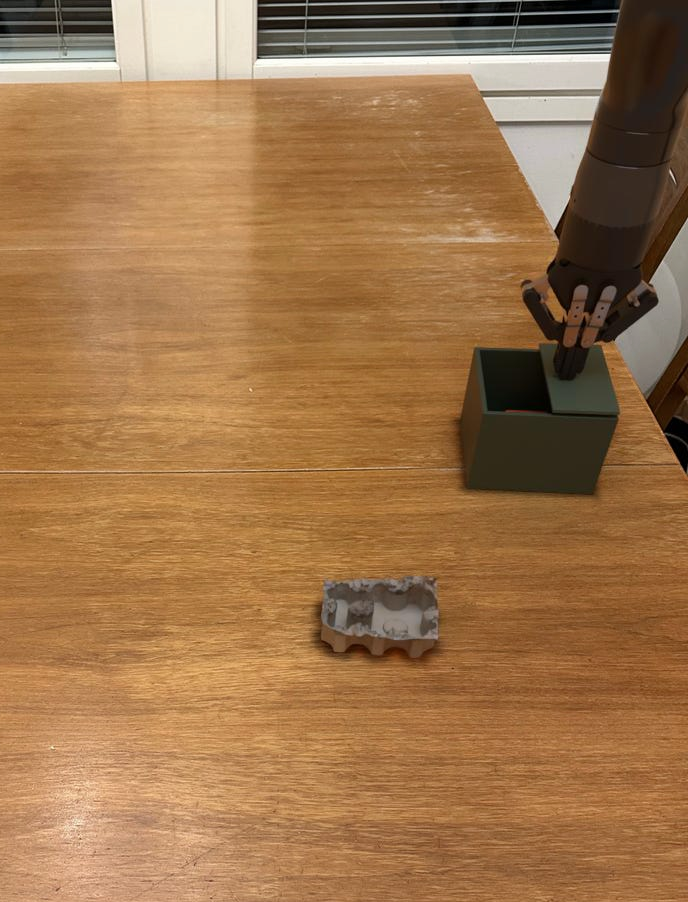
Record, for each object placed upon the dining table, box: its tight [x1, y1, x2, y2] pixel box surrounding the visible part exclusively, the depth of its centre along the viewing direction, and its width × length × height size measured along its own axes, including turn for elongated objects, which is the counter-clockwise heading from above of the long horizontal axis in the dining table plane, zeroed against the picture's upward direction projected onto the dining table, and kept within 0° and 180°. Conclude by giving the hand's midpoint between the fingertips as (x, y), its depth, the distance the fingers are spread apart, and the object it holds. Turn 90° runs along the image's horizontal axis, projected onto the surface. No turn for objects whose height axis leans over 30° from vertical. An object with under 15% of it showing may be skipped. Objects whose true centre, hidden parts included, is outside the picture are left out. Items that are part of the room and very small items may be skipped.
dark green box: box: [459, 346, 620, 495], centre depth 103 cm, size 13×12×10 cm
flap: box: [538, 342, 621, 416], centre depth 99 cm, size 6×12×1 cm, turn 174°
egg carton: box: [320, 575, 440, 659], centre depth 89 cm, size 11×8×4 cm
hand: (565, 374), depth 99 cm, fingers closed
